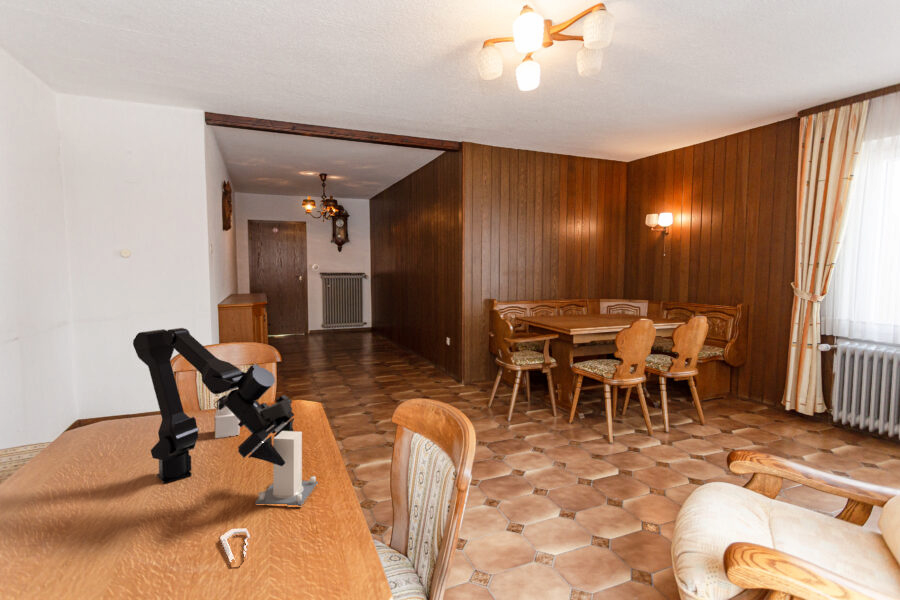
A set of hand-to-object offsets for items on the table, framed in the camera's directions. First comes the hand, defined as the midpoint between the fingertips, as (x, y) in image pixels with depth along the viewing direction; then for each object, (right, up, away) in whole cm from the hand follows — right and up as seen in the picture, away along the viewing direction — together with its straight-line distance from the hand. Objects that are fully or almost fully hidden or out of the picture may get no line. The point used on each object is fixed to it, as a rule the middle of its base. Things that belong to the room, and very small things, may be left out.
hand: (291, 456), depth 109 cm
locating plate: (-1, -10, +1) cm, 10 cm away
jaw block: (-1, -9, +1) cm, 9 cm away
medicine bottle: (-35, -6, +39) cm, 53 cm away
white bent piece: (-4, -12, -20) cm, 23 cm away
